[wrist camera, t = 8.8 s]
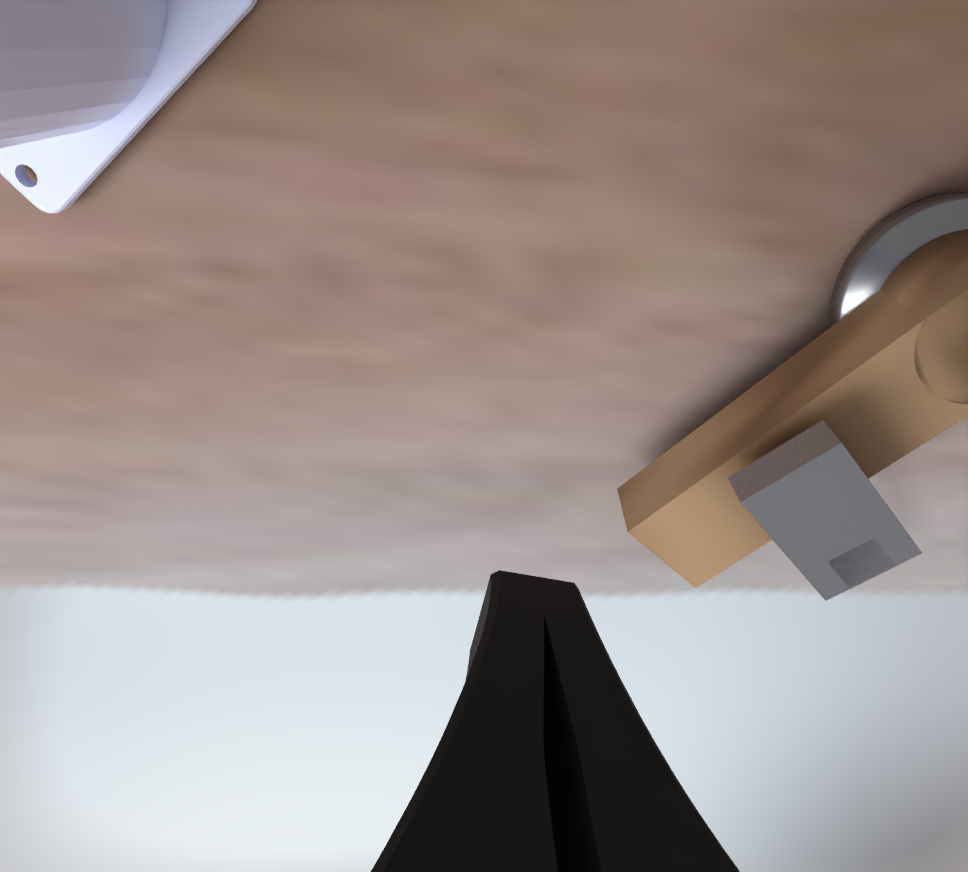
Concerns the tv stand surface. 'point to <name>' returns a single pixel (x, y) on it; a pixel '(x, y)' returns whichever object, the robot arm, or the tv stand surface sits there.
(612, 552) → the tv stand surface
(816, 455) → the block
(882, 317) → the link
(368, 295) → the tv stand surface
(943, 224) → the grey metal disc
